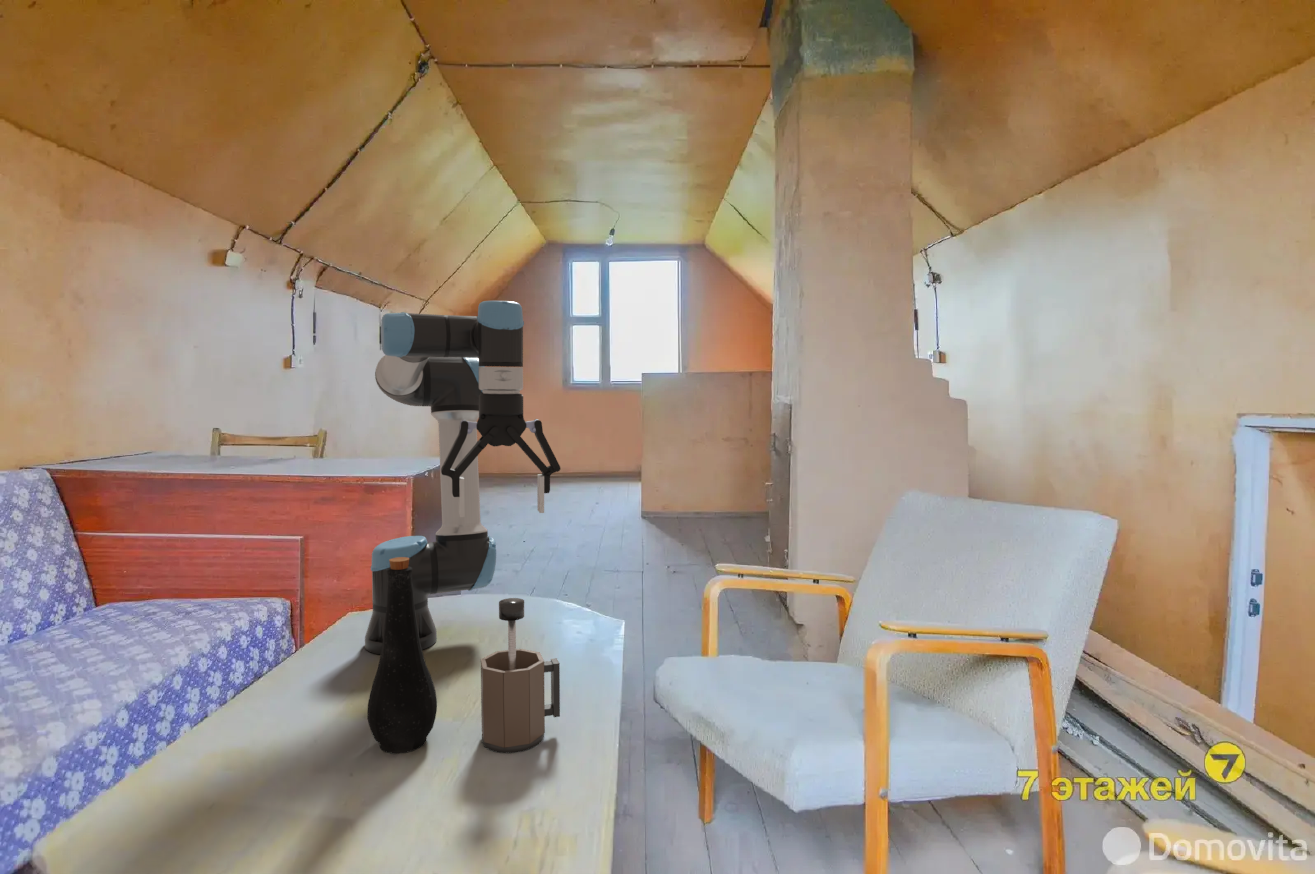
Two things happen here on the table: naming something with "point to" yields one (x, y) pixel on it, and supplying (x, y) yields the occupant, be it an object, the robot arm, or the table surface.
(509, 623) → the plunger
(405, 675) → the bottle
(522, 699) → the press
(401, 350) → the robot arm
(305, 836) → the table surface
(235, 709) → the table surface
